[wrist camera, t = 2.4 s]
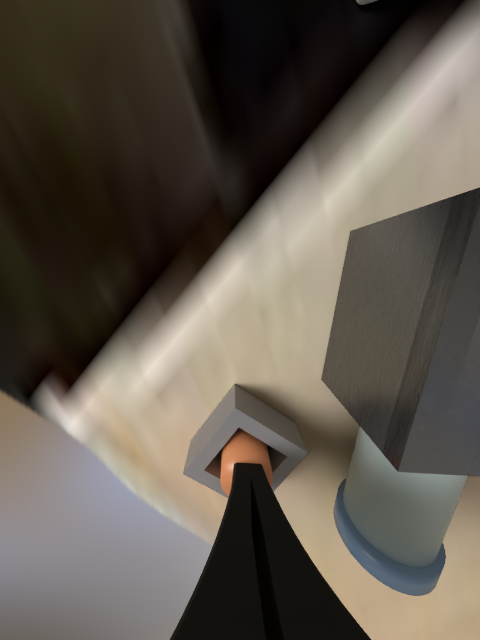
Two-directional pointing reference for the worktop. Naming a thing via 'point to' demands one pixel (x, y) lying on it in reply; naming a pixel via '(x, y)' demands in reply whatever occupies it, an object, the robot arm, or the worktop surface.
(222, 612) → the robot arm
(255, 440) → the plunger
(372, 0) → the medicine bottle
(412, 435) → the block
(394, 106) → the worktop surface
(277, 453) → the block
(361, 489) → the cylinder
